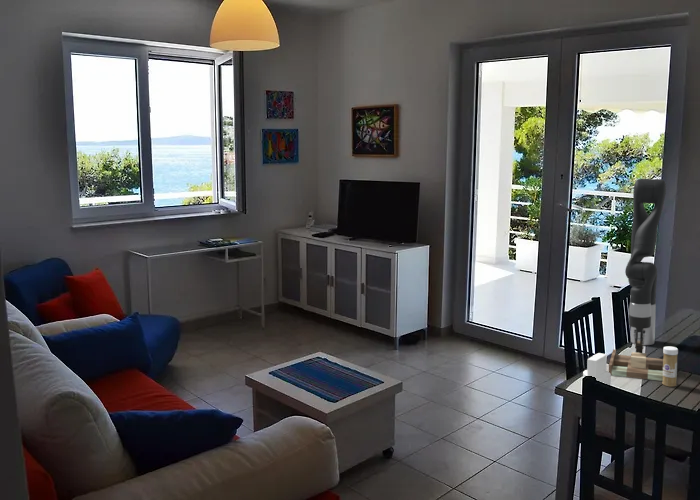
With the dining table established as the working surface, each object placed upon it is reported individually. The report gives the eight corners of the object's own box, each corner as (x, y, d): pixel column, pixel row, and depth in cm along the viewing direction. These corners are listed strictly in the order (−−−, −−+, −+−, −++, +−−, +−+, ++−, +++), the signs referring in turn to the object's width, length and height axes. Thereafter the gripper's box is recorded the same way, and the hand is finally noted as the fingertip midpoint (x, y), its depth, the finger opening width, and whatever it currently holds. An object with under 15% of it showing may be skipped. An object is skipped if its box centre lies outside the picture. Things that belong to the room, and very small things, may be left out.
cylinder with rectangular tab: (589, 383, 223) (590, 351, 221) (615, 389, 216) (615, 356, 214) (578, 390, 216) (578, 357, 215) (603, 396, 210) (604, 362, 208)
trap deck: (613, 359, 246) (613, 349, 246) (666, 364, 237) (667, 354, 237) (608, 374, 230) (608, 364, 229) (666, 381, 221) (666, 370, 220)
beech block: (631, 362, 236) (631, 352, 235) (646, 363, 234) (646, 353, 233) (630, 367, 231) (630, 356, 230) (645, 368, 228) (645, 358, 228)
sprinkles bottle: (660, 385, 217) (661, 348, 215) (664, 381, 221) (665, 345, 219) (675, 388, 214) (676, 350, 212) (678, 384, 218) (679, 347, 216)
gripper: (650, 319, 227) (649, 364, 229) (651, 310, 238) (650, 354, 241) (628, 317, 230) (627, 362, 233) (630, 309, 242) (629, 352, 244)
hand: (639, 358), depth 237 cm, fingers closed
